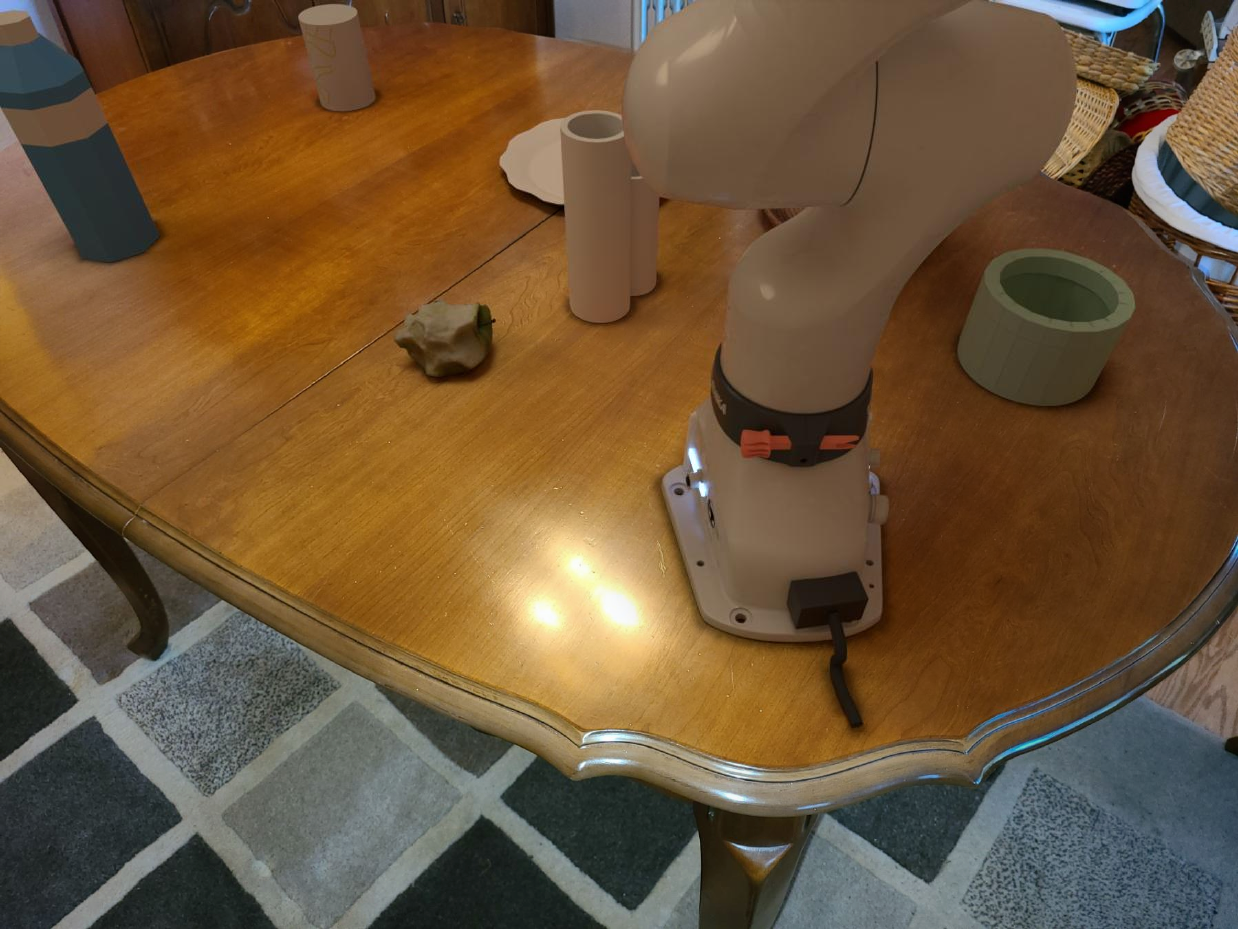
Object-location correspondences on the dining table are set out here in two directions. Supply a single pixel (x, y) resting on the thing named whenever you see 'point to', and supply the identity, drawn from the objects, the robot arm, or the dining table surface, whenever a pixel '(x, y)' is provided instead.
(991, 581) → the dining table surface
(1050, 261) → the green hollow cylinder
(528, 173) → the plate
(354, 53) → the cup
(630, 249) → the vase
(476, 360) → the fruit
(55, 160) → the water bottle
